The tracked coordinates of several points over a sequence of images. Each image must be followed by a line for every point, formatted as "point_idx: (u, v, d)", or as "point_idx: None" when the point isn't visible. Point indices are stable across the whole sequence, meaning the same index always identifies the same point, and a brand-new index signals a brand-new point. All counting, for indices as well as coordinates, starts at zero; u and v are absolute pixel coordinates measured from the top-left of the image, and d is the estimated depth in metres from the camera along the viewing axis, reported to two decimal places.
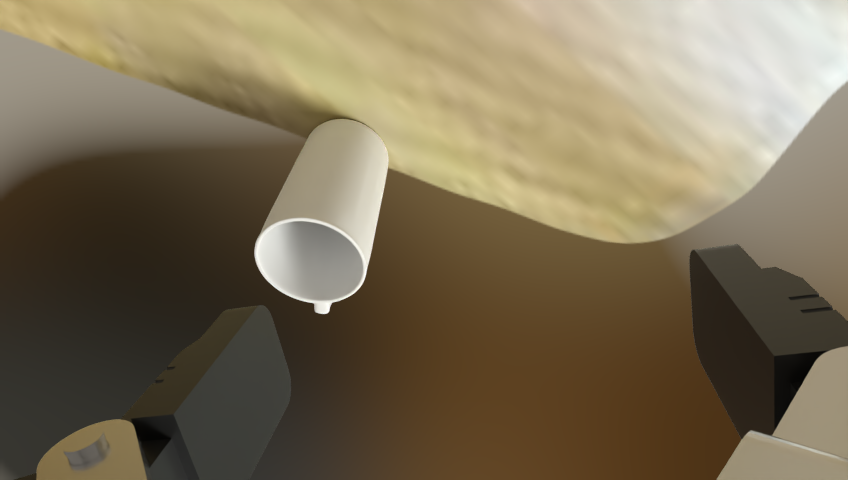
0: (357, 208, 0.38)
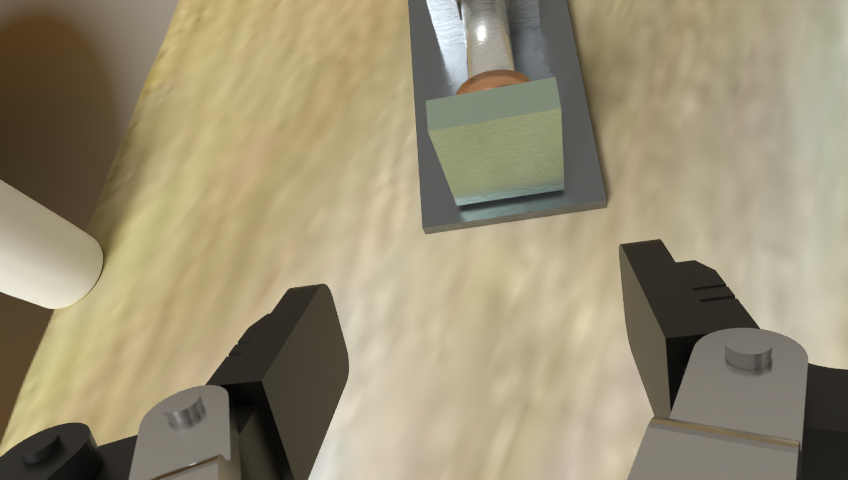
0: None
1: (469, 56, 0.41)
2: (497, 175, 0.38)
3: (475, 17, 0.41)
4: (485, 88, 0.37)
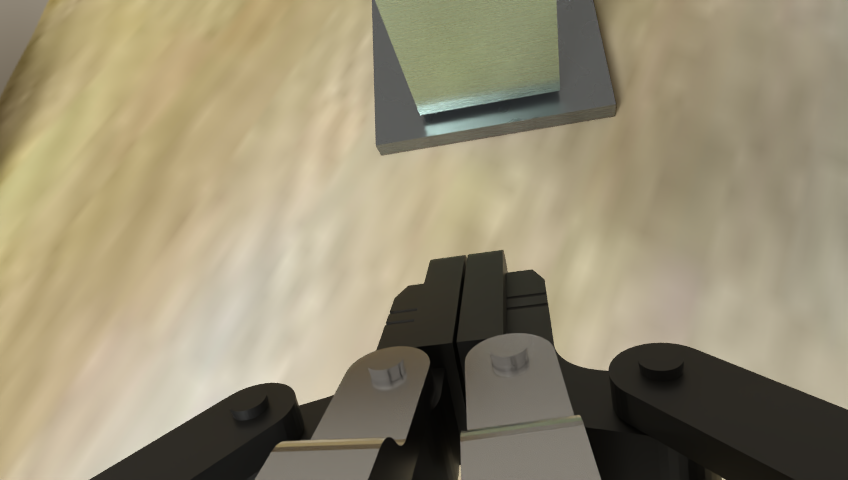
0: None
1: None
2: (469, 64, 0.28)
3: None
4: None
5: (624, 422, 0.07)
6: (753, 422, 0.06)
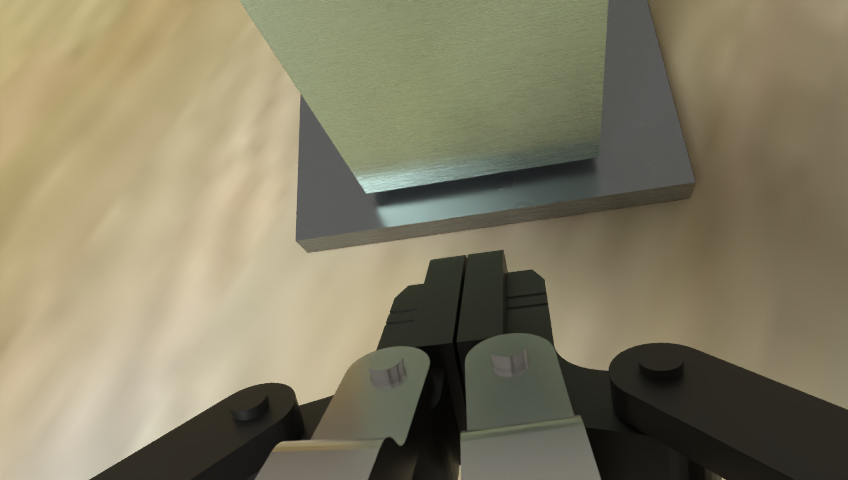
0: None
1: None
2: (443, 119, 0.16)
3: None
4: None
5: (624, 422, 0.07)
6: (753, 422, 0.06)
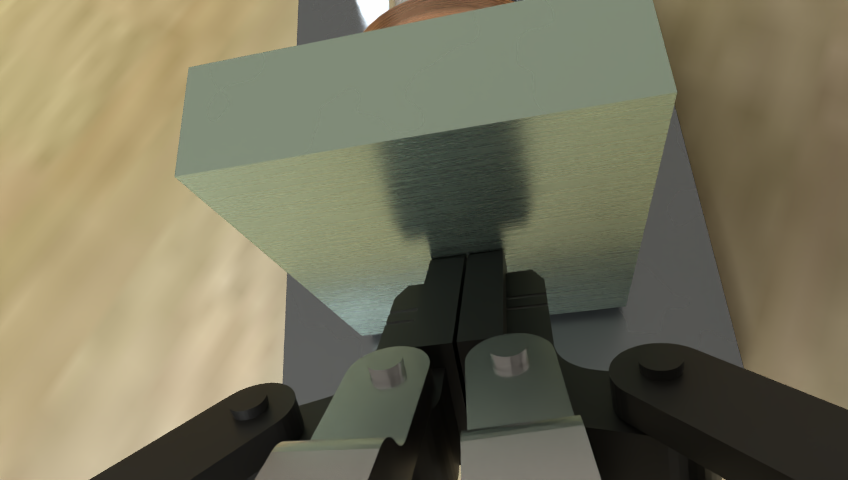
0: None
1: None
2: None
3: None
4: None
5: (624, 422, 0.07)
6: (753, 421, 0.06)
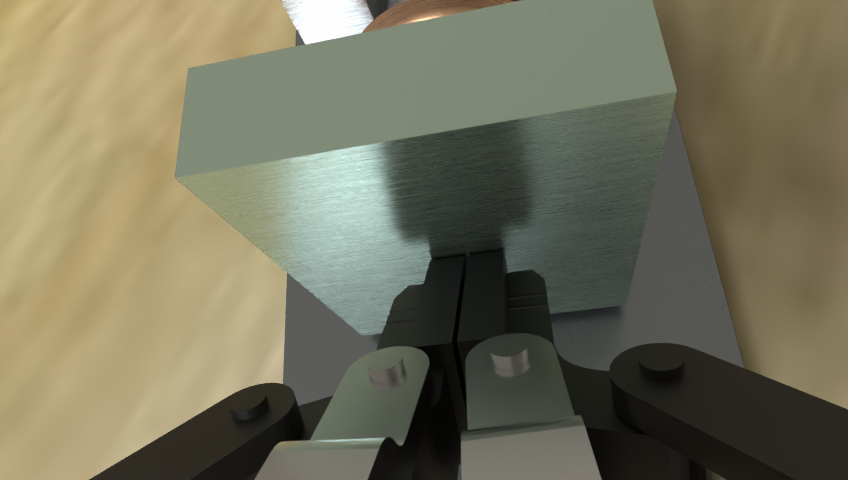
0: None
1: None
2: None
3: None
4: None
5: (624, 422, 0.07)
6: (754, 422, 0.06)
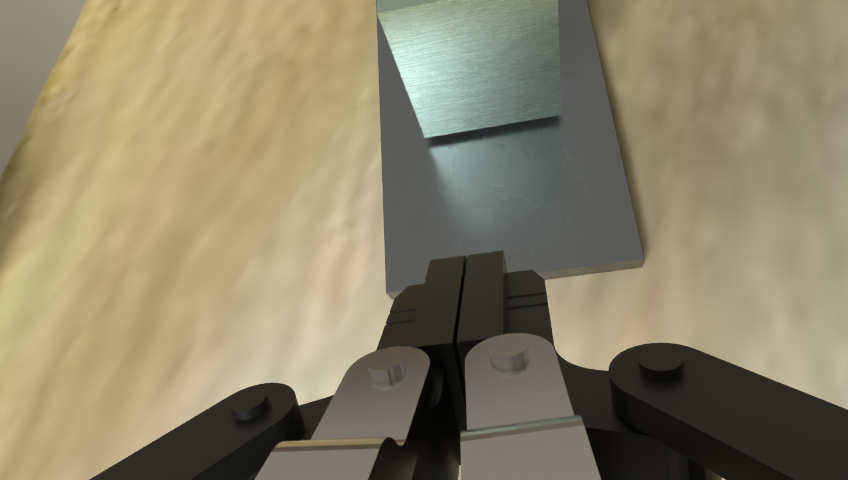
0: None
1: None
2: (474, 90, 0.29)
3: None
4: None
5: (624, 422, 0.07)
6: (753, 422, 0.06)
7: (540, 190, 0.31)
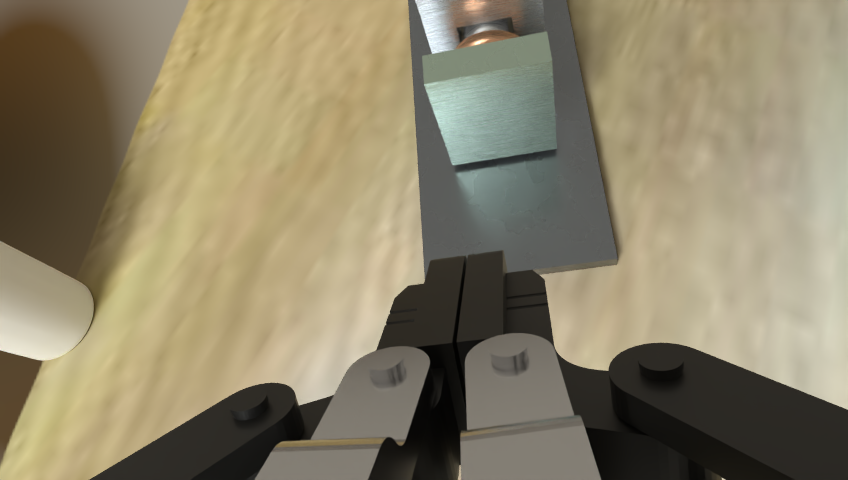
0: None
1: None
2: (491, 133, 0.39)
3: None
4: None
5: (624, 422, 0.07)
6: (753, 422, 0.06)
7: (541, 206, 0.41)
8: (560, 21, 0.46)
